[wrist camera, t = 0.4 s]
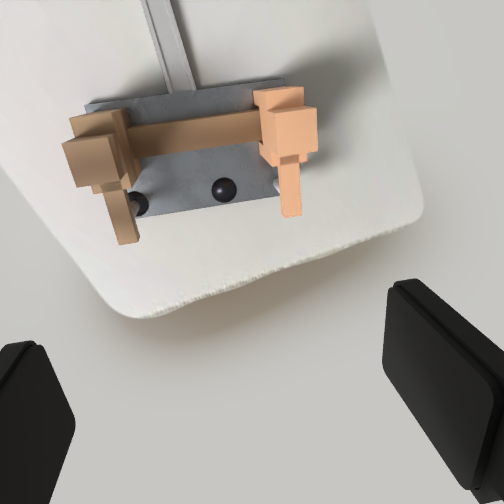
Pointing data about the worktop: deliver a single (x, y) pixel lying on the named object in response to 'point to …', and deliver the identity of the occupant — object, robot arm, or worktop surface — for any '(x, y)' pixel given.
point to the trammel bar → (142, 152)
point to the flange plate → (197, 153)
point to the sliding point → (286, 139)
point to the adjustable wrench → (168, 45)
